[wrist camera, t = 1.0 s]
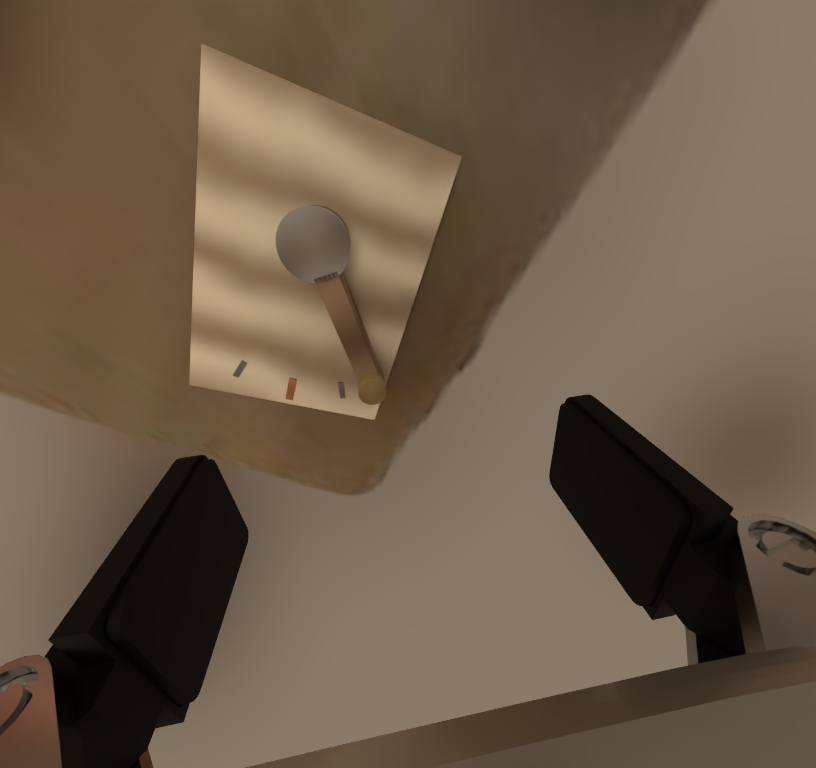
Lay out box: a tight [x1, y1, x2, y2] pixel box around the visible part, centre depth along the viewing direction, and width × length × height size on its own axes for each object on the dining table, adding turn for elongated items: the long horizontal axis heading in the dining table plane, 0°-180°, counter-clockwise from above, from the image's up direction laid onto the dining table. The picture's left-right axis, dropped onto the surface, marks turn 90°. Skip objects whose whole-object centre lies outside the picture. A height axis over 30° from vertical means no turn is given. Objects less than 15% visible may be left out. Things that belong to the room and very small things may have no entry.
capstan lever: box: [276, 205, 387, 405], centre depth 28 cm, size 18×5×5 cm, turn 17°
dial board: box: [189, 43, 462, 420], centre depth 30 cm, size 25×18×3 cm
